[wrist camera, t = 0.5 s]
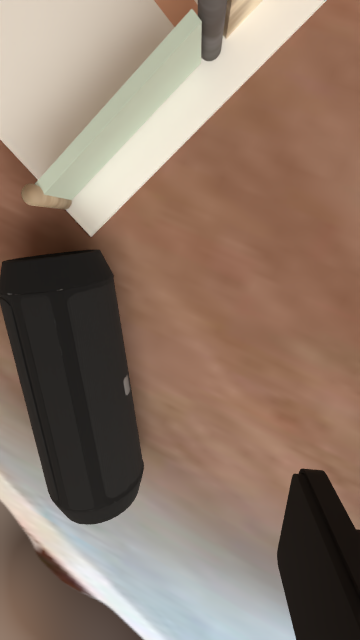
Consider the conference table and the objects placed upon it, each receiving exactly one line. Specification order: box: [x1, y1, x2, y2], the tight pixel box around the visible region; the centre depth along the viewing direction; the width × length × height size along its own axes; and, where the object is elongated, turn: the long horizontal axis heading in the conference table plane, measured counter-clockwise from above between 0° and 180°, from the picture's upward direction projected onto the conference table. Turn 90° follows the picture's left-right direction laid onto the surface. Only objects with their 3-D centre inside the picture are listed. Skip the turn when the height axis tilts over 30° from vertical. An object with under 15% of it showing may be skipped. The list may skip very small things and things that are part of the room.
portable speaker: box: [0, 250, 144, 524], centre depth 33 cm, size 26×10×10 cm, turn 6°
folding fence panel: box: [21, 9, 202, 209], centre depth 27 cm, size 18×2×6 cm, turn 132°
